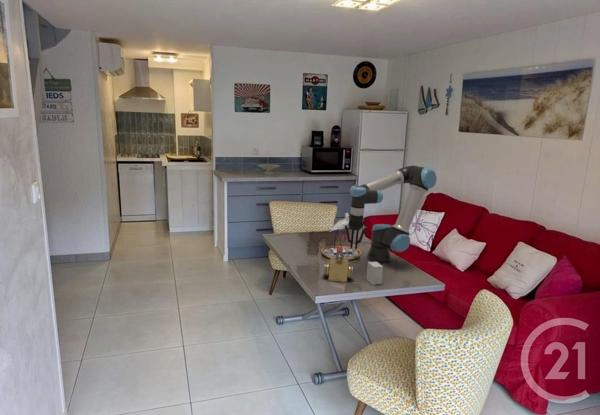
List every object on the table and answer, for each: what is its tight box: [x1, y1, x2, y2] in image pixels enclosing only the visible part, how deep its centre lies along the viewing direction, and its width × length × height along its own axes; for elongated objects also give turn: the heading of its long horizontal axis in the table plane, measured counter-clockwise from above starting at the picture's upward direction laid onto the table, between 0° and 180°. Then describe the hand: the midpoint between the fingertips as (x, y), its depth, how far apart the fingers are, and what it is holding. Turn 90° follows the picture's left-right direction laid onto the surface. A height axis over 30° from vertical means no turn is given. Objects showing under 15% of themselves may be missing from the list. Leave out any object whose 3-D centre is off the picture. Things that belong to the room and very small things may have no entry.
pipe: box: [323, 262, 354, 280], centre depth 231 cm, size 16×8×8 cm, turn 84°
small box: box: [365, 261, 384, 286], centre depth 229 cm, size 8×6×10 cm
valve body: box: [325, 257, 352, 283], centre depth 231 cm, size 14×9×11 cm, turn 84°
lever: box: [335, 246, 345, 260], centre depth 235 cm, size 17×4×3 cm, turn 174°
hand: (353, 253), depth 240 cm, fingers closed
